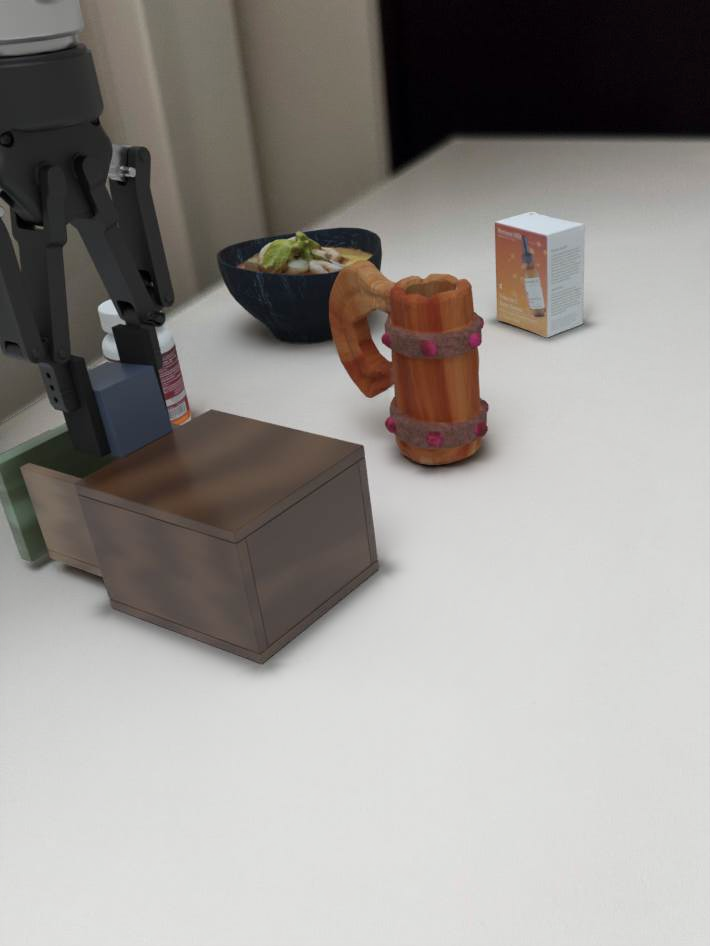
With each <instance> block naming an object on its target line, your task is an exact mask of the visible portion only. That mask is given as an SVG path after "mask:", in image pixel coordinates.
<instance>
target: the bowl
mask: <svg viewBox="0 0 710 946" xmlns="http://www.w3.org/2000/svg"><path fill="white" fill-rule="evenodd" d="M381 239H382V238H380V236H379V235H378V234H377V233H376V232H374V231H372V230H369V229H367V228H366V229H365V228H360V227H332V228H331V227H330V228H323V229H314V230H307V231H299V230H297V232H293V233H285V234H279V235H272V236H271V235H270V236H266V237H259V238H255V239H254V238H253V239H250V240H245V241H241V242H238V243H234V244H230V245H228V246H226V247H224V248H222V249H220V250H219V251H217V253H216V259H217V265H218V270H219V272H220V275H221V277H222V280H223V283H224V284H225V287H226V288H227V290H228V292H229V294H230V296H232V298H233V299H234V300H235V301H236V303H238V305H239V306H241V307H242V308H243V309H244V310H245V311H246V312H247V313H248V314H249V315H251V316H252V318H254V319H256V320H257V321H259V322H260V323H262V324H263V325H265V326H266V328H267V329H268V332H270V334H271V335H272V336H273V337H274V338H275V339H276V340H278V341H281V342H284V343H289V344H313V343H314V344H315V343H321V342H325V341H330V340H333V336H332V331H331V326H330V321H329V299H330V294H331V290H332V287H333V285H334V282H335V280H336V278H337V276H338V274H339V272H340V271H341V269H343V268H344V267H346V266H348V265H350V264H353V263H355V262H357V261H360V260H365V261H370V262H371V263H372V264H374V265H375V267H376V268H377V269H378V270H379V271H380V272H381V270H382V261H383V247H382V240H381Z"/></svg>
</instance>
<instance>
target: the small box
mask: <svg viewBox="0 0 710 946" xmlns="http://www.w3.org/2000/svg"><path fill="white" fill-rule="evenodd" d="M585 232H586V225H585V223H582V222H574V221H570V220H565V219H561V218H557V217H553V216H549V215H545V214H541V213H538V212H535V211H528V212H525V213H521V214H518V215H514V216H511V217H507V218H503V219H500V220H496V221H495V222H494V247H495V248H494V252H495V253H494V254H495V292H496V294H495V295H496V296H495V297H496V319H497V321H500V322H503V323H507V324H510V325H511V326H515V327H518V328H521V329H523V330H525V331H528V332H531V333H533V334H535V335H539V336H541V337H544V338H546V339H548V338H550V337H553V336H555V335H557V334H561V333H562V332H566V331H568V330H571V329H574V328H576V327H579V326H581V325H583V324H584V295H585V293H584V292H585V291H584V290H585V249H586V248H585V247H586V245H585V244H586V243H585V241H586V233H585Z"/></svg>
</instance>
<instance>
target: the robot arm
mask: <svg viewBox="0 0 710 946" xmlns="http://www.w3.org/2000/svg"><path fill="white" fill-rule="evenodd" d="M84 21H85V20H84V16H83V11H82V9H81V4H80V0H0V199H1V200H2V201H3V202H4V203H5V204H6V205H7V206H8V207H9V217H10V226H11V234H12V235H10V232H9V230H8V228H7V226H6V224H5V222H4V221H3V220H4V219H3V218H4V217H5V215H6V209H5V208H4V207H3V206H1V205H0V349H1V352H2V354H3V355H4V356H5V357H6V358H10V359H13V360H18V361H22V362H26V363H31V364H35V365H37V366H38V368H39V372H40V376H41V377H42V378H41V379H42V381H43V384H44V385H43V386H44V387H45V391H46V394H47V398H48V401H49V404H50V405H51V407H52V408H53V409H54V410H57V411H59V412H62V415H63V417H64V421H65V423H66V425H67V428H68V431H69V435H70V438H71V441H72V445H73V448H74V450H78V451H81V452H85V453H88V454H92V455H95V456H99V457H104V456H105V455H107V454H109V453H111V452H110V449H109V445H108V442H107V438H106V435H105V431H104V427H103V424H102V420H101V417H100V413H99V410H98V406H97V402H96V399H95V395H94V392H93V388H92V385H91V381H90V377H89V374H88V370H89V369H88V367H87V363H86V360H85V357H82V356H79V355H73V354H72V350H71V349H72V348H71V339H70V338H71V337H70V325H69V313H68V312H69V311H68V310H69V309H68V301H67V299H68V298H67V286H66V275H65V261H64V246H66V245H67V243H68V229H67V225H69V224H70V225H71V227H73V228H75V229H76V230H77V232H78V234H79V237H80V238H81V240H82V242H83V244H84V246H85V248H86V250H87V252H88V255H89V257H90V258H91V261H92V263H93V265H94V267H95V270H96V271H97V273H98V277H100V280H101V282H102V284H103V286H104V288H105V290H106V292H107V294H108V296H109V298H110V299H111V300H112V303H113V305H114V307H115V309H116V311H117V313H118V315H119V317H120V318H121V319H122V320H124V321H125V323H126V325H124V324H118V325H116V326H113V327H111V328H112V332H113V335H114V339H115V343H116V347H117V351H118V355H119V358H120V362H121V363H126V364H137V365H149V366H153V368H154V371H155V374H156V377H157V381H158V384H159V387H160V390H161V393H162V397H163V400H164V403H165V406H166V410H167V413H168V409H167V405H166V400H165V396H164V392H163V388H162V384H161V380H160V375H159V371H158V370H160V369H162V368H163V358H162V354H161V352H160V351H161V350H160V347H159V341H158V337H157V333H156V329H155V327H161V326H164V324H166V323H165V322H166V312H163V309H164V308H171V307H172V306H173V305H174V303H175V292H174V287H173V284H172V283H173V282H172V280H171V274H170V271H169V265H168V261H167V257H166V252H165V248H164V242H163V239H162V234H161V230H160V226H159V221H158V220H159V219H158V217H157V211H156V208H155V202H154V199H153V194H152V189H151V171H152V170H151V169H152V156H151V153H150V150H149V149H148V148H147V147H145V146H141V145H131V144H120V143H119V144H118V143H112V140H111V138H110V137H109V135H108V133H107V132H106V130H105V129H104V127H103V125H102V123H101V121H100V117H101V115H102V114H103V112H104V108H105V105H104V99H103V95H102V92H101V86H100V83H99V79H98V74H97V71H96V66H95V61H94V57H93V54H92V50H91V49H89V48H87V45H86V44H85V43H83V42H78V41H77V36H76V35H79V34H81V33H82V31H83V30H84V28H85V25H86V24H85V22H84ZM107 180H108V183H109V184H108V185H109V190H108V188H107V185H106V184H107ZM109 192H110V193H109ZM38 227H41V228H38ZM11 236H12V237H13V239H14V240H15V242H16V243H17V246H18V253H19V261H18V257H17V254H16V250H15V247H14V244H13V240H12V238H11ZM19 263H20V264H19ZM160 311H161V312H160ZM168 416H169V413H168ZM169 419H170V417H169Z"/></svg>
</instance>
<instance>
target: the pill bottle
mask: <svg viewBox="0 0 710 946" xmlns="http://www.w3.org/2000/svg"><path fill="white" fill-rule="evenodd" d="M97 312H98V317H99V321H100V326H101V329H102V331H104V332H105V333H107V334H106V335H105V336H104V337H103V340H102V342H101V348H102V349H101V350H102V354H103V357H104V361H105V363H106V362H114V363H121V362H120V358H119V355H118V351H117V347H116V343H115V339H114V335H113V332H112V328H111V327H113V326H116V325H118V324H124V325H126V323H125V321H124V320H122V319H121V318H120V317H119V315H118V313H117V311H116V309H115V307H114V305H113V303H112V300H111V298H110V299H108V300H105V301H103V302H102V303H100V304H99V305H98V307H97ZM160 312H162V310H161V311H160ZM155 329H156V333H157V337H158V341H159V347H160V350H161V351H160V352H161V354H162V358H163V368H162V369H160V370H158V371H159V375H160V380H161V384H162V388H163V392H164V396H165V400H166V405H167V409H168V413H169V417H170V422H171V423H174V424H178V425H183V424H185V423H187V422H188V421H190V420H192V412H191V407H190V403H189V398H188V395H187V390H186V386H185V381H184V376H183V373H182V369H181V364H180V359H179V356H178V351H177V345H176V342H175V339H174V335H173V333H172V331H171V330H170V329H169V328H168V327H167V326H165V325H163V326H161V327H155Z"/></svg>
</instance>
